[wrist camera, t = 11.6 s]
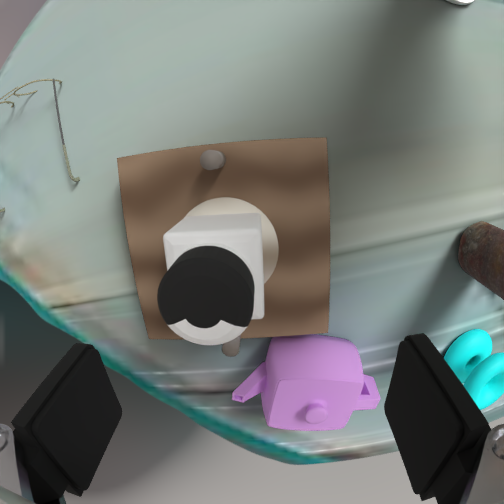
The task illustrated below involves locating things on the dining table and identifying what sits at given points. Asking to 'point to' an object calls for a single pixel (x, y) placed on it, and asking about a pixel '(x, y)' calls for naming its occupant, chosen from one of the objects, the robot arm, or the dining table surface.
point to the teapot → (310, 383)
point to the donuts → (477, 366)
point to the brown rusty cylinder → (484, 255)
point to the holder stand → (234, 202)
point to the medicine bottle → (213, 277)
